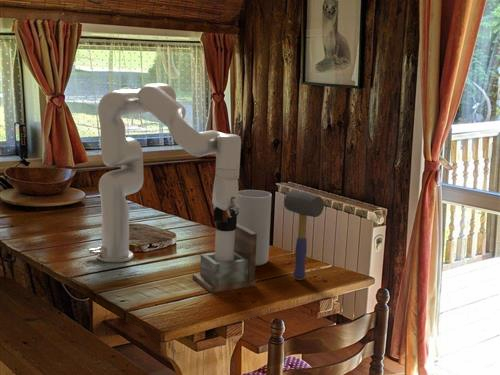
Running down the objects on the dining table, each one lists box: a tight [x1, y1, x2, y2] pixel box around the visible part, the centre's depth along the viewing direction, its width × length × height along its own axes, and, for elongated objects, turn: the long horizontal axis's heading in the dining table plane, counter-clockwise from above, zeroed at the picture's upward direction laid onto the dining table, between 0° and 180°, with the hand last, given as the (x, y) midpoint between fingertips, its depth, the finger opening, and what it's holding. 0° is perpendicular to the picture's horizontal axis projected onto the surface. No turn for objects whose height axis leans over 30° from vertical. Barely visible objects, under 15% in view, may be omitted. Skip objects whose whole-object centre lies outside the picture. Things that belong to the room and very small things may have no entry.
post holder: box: [192, 224, 257, 294], centre depth 213 cm, size 16×14×18 cm
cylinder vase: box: [237, 189, 273, 267], centre depth 235 cm, size 12×12×25 cm
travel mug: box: [214, 218, 235, 263], centre depth 212 cm, size 6×7×20 cm
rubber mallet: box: [283, 190, 325, 281], centre depth 218 cm, size 12×8×30 cm, turn 46°
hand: (224, 225), depth 211 cm, fingers open, 9 cm apart
